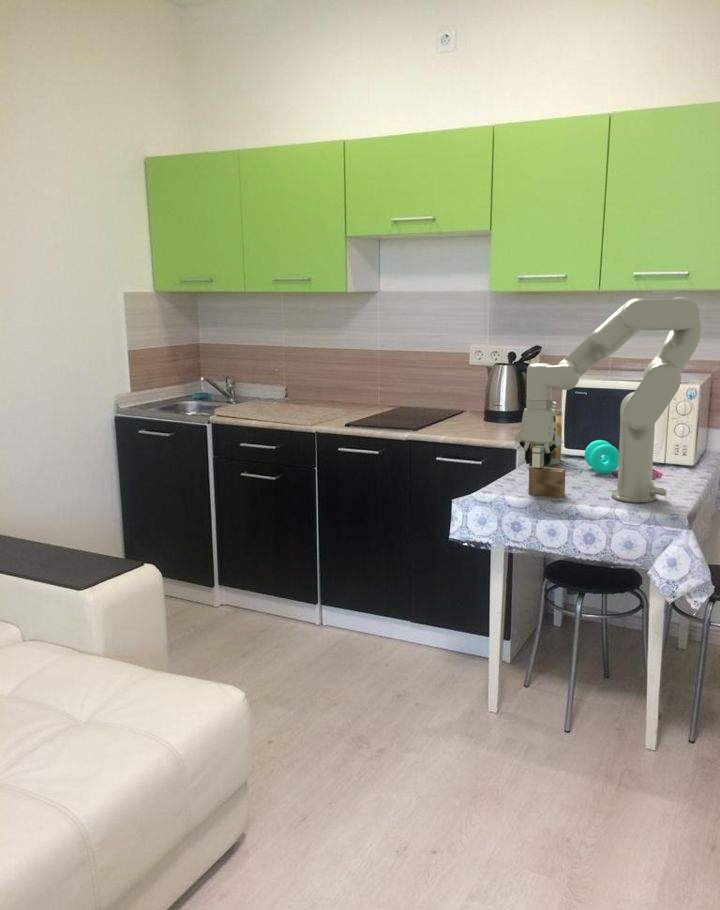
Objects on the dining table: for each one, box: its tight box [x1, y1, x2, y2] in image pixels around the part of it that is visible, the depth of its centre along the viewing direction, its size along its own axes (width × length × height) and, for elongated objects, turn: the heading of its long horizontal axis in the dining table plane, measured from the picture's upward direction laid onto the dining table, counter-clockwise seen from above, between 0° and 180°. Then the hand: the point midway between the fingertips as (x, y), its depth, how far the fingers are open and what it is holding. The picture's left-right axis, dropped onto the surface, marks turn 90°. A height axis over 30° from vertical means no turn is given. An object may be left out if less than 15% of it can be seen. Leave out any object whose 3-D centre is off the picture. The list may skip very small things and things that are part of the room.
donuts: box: [584, 439, 619, 475], centre depth 268 cm, size 10×10×10 cm
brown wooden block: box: [528, 466, 566, 499], centre depth 242 cm, size 10×4×8 cm, turn 58°
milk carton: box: [528, 409, 563, 467], centre depth 281 cm, size 11×11×19 cm
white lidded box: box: [531, 446, 544, 468], centre depth 242 cm, size 2×3×6 cm
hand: (537, 463), depth 242 cm, fingers open, 4 cm apart
